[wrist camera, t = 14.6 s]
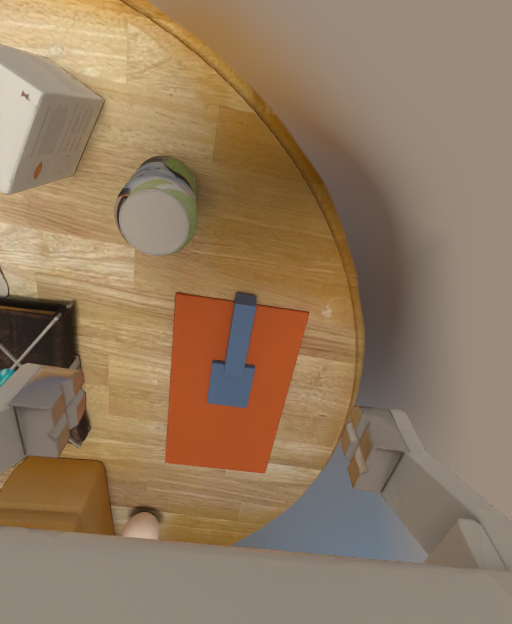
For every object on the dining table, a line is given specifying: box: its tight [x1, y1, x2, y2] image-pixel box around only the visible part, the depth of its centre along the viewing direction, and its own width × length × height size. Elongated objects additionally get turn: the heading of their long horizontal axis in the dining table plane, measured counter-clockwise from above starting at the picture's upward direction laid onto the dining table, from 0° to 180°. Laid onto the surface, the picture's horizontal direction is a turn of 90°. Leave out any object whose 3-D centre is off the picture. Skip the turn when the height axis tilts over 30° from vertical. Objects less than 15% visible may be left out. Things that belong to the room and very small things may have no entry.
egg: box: [122, 512, 159, 540], centre depth 58 cm, size 6×6×8 cm
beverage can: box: [115, 156, 197, 256], centre depth 29 cm, size 6×7×12 cm
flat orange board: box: [165, 293, 309, 473], centre depth 48 cm, size 30×16×1 cm, turn 170°
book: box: [0, 298, 91, 448], centre depth 43 cm, size 22×17×5 cm
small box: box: [0, 44, 104, 195], centre depth 27 cm, size 8×6×10 cm
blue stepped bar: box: [207, 293, 256, 408], centre depth 43 cm, size 17×6×3 cm, turn 170°
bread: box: [0, 456, 114, 536], centre depth 53 cm, size 24×13×15 cm, turn 173°
